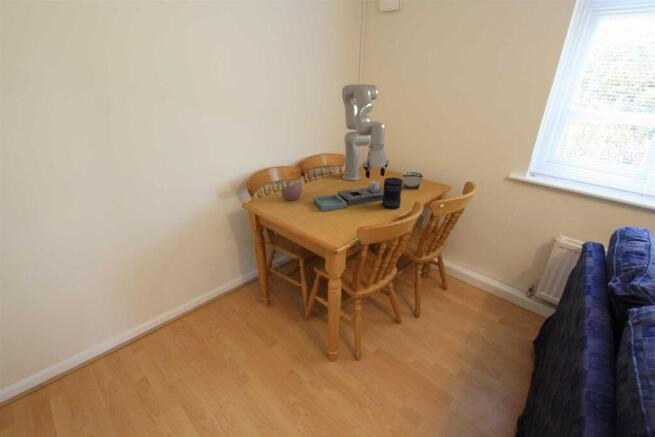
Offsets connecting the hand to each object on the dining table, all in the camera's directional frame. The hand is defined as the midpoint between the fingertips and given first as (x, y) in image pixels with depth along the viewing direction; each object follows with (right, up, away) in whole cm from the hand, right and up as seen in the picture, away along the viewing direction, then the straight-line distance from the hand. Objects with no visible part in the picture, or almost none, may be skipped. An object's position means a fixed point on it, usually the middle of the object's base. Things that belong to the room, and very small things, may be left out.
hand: (374, 176), depth 175 cm
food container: (+26, -5, +20) cm, 33 cm away
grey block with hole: (-6, -12, +4) cm, 14 cm away
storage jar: (+8, -17, -6) cm, 20 cm away
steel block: (0, -11, +6) cm, 13 cm away
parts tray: (-26, -17, -6) cm, 32 cm away
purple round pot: (-48, -13, +2) cm, 50 cm away
